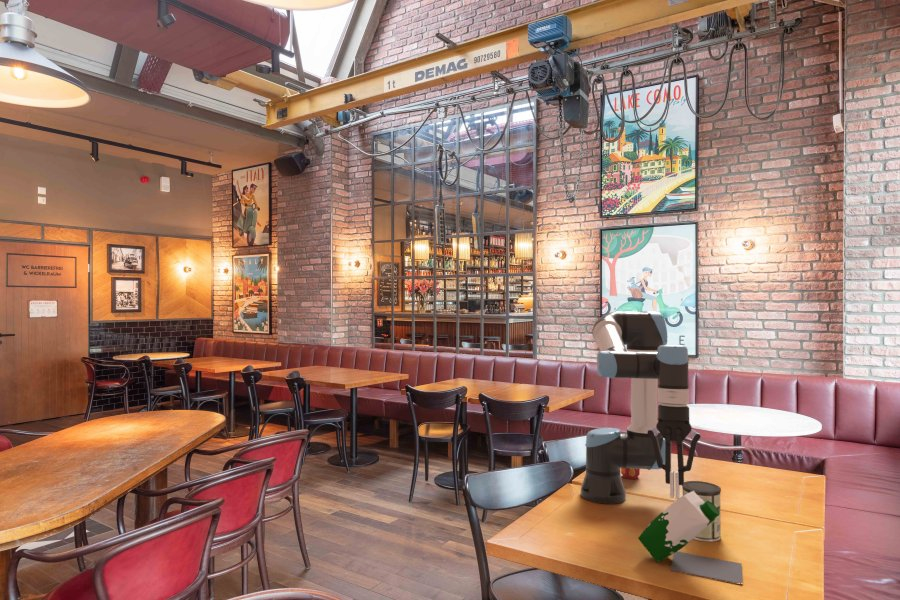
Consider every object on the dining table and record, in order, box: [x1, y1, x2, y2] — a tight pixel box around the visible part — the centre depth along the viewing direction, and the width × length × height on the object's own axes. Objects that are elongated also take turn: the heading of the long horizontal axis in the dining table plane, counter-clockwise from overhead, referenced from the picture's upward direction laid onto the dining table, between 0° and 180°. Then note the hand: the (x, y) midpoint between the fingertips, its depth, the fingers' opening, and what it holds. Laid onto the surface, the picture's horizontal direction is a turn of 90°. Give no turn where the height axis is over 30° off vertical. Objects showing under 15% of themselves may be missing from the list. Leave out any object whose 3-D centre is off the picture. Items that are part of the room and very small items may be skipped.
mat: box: [670, 551, 744, 584], centre depth 140 cm, size 16×12×1 cm
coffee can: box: [681, 480, 722, 543], centre depth 161 cm, size 10×10×14 cm
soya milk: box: [637, 491, 720, 563], centre depth 142 cm, size 9×9×20 cm
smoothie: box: [620, 468, 641, 480], centre depth 216 cm, size 8×8×20 cm
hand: (675, 497), depth 142 cm, fingers closed
